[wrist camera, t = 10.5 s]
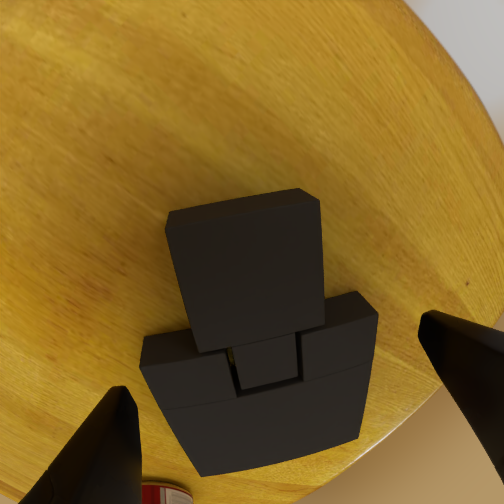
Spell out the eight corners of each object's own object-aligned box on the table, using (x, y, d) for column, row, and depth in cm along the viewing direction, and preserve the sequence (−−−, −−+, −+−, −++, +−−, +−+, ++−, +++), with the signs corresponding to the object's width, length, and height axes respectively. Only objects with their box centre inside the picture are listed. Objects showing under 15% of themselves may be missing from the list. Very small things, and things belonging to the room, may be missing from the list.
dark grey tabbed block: (299, 187, 14) (320, 199, 12) (310, 341, 18) (325, 368, 16) (168, 211, 14) (164, 228, 11) (208, 364, 17) (212, 395, 15)
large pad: (357, 290, 17) (378, 313, 15) (346, 416, 22) (358, 438, 19) (143, 336, 16) (138, 367, 13) (198, 451, 20) (200, 477, 18)
